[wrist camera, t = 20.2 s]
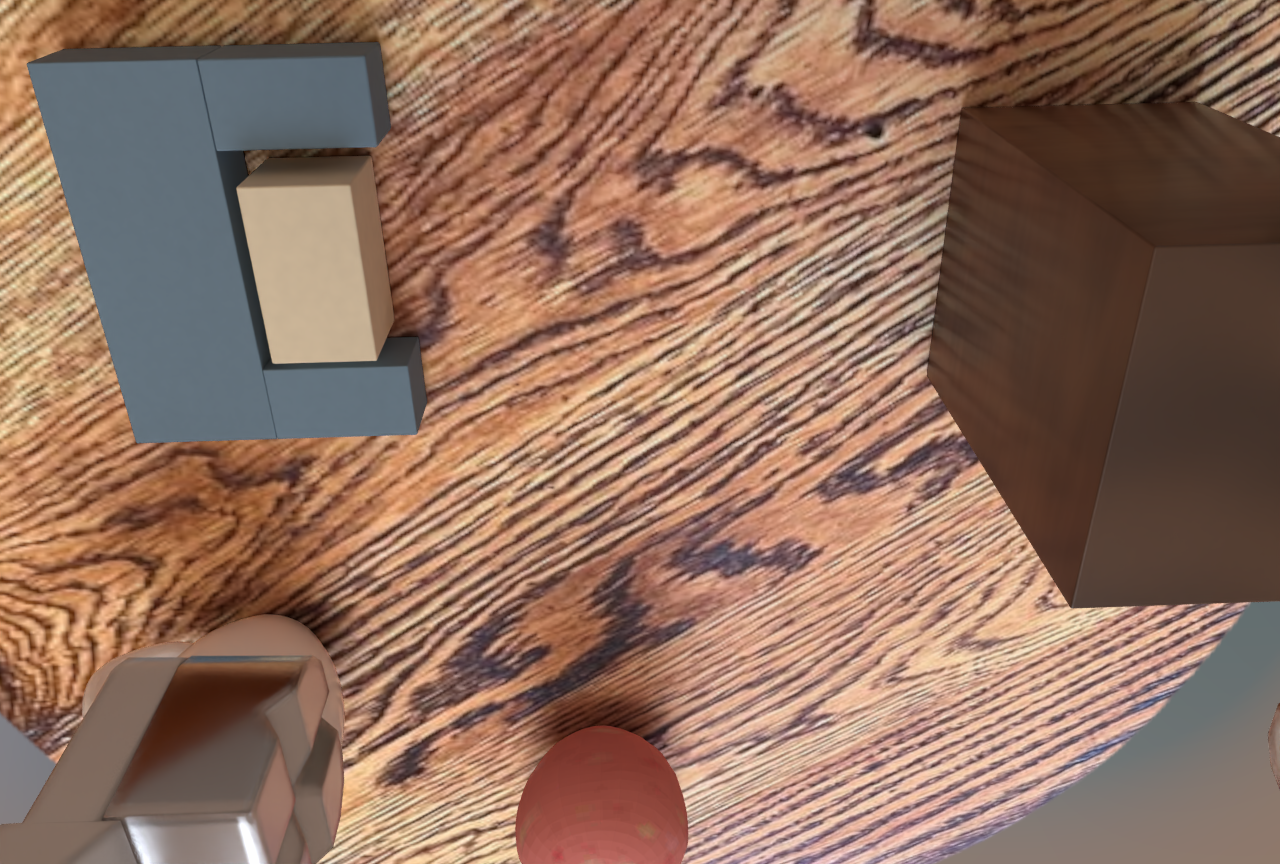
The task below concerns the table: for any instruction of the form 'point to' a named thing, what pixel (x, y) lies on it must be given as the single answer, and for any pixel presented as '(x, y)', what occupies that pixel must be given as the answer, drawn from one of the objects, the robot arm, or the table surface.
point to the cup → (244, 654)
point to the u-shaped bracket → (211, 230)
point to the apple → (602, 803)
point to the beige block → (318, 258)
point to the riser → (1120, 343)
